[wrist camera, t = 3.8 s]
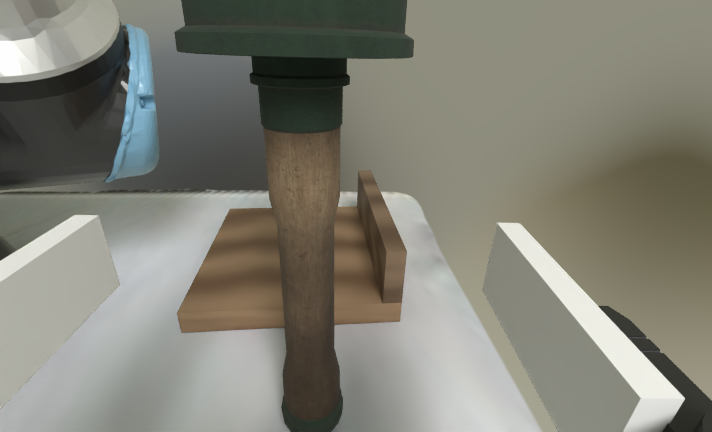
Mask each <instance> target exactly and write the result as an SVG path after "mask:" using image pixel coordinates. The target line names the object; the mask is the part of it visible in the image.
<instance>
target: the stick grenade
mask: <svg viewBox="0 0 712 432" xmlns="http://www.w3.org/2000/svg"><path fill="white" fill-rule="evenodd" d="M181 1H182V8H183V14H184V21H185V26H184V27H182V28H181V29H179V30H177V31H176V32H175V39H176V47H177V51H178V52H185V53H195V54H215V55H236V56H251V57H252V68H253V72H252V73H251V74H250V82H251V83H252V84H255V85H258V91H259V103H260V113H261V124H262V125H263V127H264V139H265V151H266V162H267V175H268V187H269V198H270V202H271V206H272V209H273V212H274V216H275V219H276V222H277V230H278V243H279V257H280V270H281V283H282V297H283V310H284V323H285V337H286V350H287V353H286V358H285V364H284V369H283V386H284V396H283V402H282V412H283V417H284V421H285V424H286V425H287V427H288V428H289V429H290V431H291V432H331V431H332V430H333V429H334V428H335V426H336V425H337V424H338V422H339V419H340V417H341V414H342V406H343V398H342V395H341V390H340V370H339V364H338V361H337V357H336V353H335V349H334V221H335V216H336V212H337V207H338V202H339V198H340V126H341V124H342V97H343V94H342V92H343V86H346V85H349V84H350V76H349V75H348V74H347V58H359V59H360V58H361V59H364V58H365V59H366V58H367V59H388V58H410V57H413V48H414V40H413V39H412V38H410V37H408V36H407V35H406V34H405V22H406V8H407V0H181Z"/></svg>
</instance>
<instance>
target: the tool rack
mask: <svg viewBox="0 0 712 432" xmlns="http://www.w3.org/2000/svg"><path fill="white" fill-rule="evenodd" d="M406 254H407V251H406V248H405V246H404V244H403V242H402V239H401V237H400V235H399V233H398V230H397V228H396V226H395V224H394V221H393V219H392V217H391V215H390V213H389V210H388V208H387V206H386V204H385V201H384V199H383V197H382V195H381V192H380V190H379V188H378V186H377V183H376V181H375V179H374V177H373V175H372V172H371V171H358V196H357V207H337V212H336V216H335V221H334V325H338V324H357V323H376V322H395V321H400V314H401V304H402V294H403V284H404V274H405V264H406ZM177 315H178V320H179V324H180V328H181V332H182V333H185V332H204V331H223V330H242V329H261V328H280V327H285V323H284V310H283V297H282V283H281V270H280V257H279V243H278V230H277V222H276V219H275V216H274V212H273V209H272V208H249V209H230V210H229V212H228V214H227V216H226V218H225V220H224V222H223V224H222V226H221V228H220V230H219V232H218V234H217V236H216V238H215V240H214V242H213V244H212V246H211V247H210V249H209V251H208V253H207V255H206V257H205V259H204V261H203V263H202V265H201V267H200V269H199V271H198V273H197V275H196V277H195V279H194V281H193V283H192V285H191V287H190V289H189V291H188V293H187V295H186V296H185V298H184V300H183V302H182V304H181V306H180V308H179V310H178V312H177Z"/></svg>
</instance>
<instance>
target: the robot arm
mask: <svg viewBox="0 0 712 432" xmlns="http://www.w3.org/2000/svg"><path fill="white" fill-rule="evenodd" d="M158 161H159V139H158V127H157V116H156V106H155V95H154V82H153V70H152V61H151V53H150V44H149V38H148V35H147V33H146V32H145V31H144V30H142V29H140V28H136V27H133V26H131V25H129V24H126V25H121V22H120V19H119V15H118V12H117V10H116V8H115V6H114V4H113V2H112V0H0V190H9V189H21V188H33V187H44V186H56V185H67V184H79V183H91V182H103V181H104V182H110V181H113V180H114V179H118V178H124V177H131V176H137V175H143V174H146V173H149V172H151V171H152V170H153V169H154V168H155V167H156V165H157V163H158ZM119 285H120V283H119V279H118V276H117V273H116V270H115V266H114V263H113V260H112V257H111V253H110V250H109V247H108V244H107V241H106V237H105V234H104V231H103V228H102V224H101V221H100V218H99V215H74V216H72V217H71V218H69V219H67V220H66V221H64V222H62V223H61V224H59V225H58V226H56V227H54V228H53V229H51V230H49V231H48V232H46V233H45V234H43V235H41V236H40V237H38V238H37V239H35V240H33V241H32V242H30V243H28V244H27V245H25V246H24V247H22V248H20V249H19V250H17V251H16V250H15V249H14V248H13V247H12V246H11V245H10V244H9V243H8V242H7V241H6V240H5V239H4V238H2V237H1V236H0V409H1V408H2V407H3V406H4V405H5V404H6V403H7V402H8V401H9V400H10V399H11V398H12V397H13V396H14V395H15V394H16V393H17V392H18V390H19V389H20V388H21V387H22V386H23V385H24V384H25V383H26V382H27V381H28V380H29V379H30V378H31V377H32V376H33V375H34V374H35V373H36V372H37V371H38V370H39V369H40V368H41V367H42V365H43V364H44V363H45V362H46V361H47V360H48V359H49V358H50V357H51V356H52V355H53V354H54V353H55V352H56V351H57V350H58V349H59V348H60V347H61V346H62V345H63V344H64V343H65V342H66V340H67V339H68V338H69V337H70V336H71V335H72V334H73V333H74V332H75V331H76V330H77V329H78V328H79V327H80V326H81V325H82V324H83V323H84V322H85V321H86V320H87V319H88V318H89V317H90V315H91V314H92V313H93V312H94V311H95V310H96V309H97V308H98V307H99V306H100V305H101V304H102V303H103V302H104V301H105V300H106V299H107V298H108V297H109V296H110V295H111V294H112V293H113V292H114V290H115V289H116V288H117V287H118V286H119ZM482 290H483V292H484V294H485V296H486V298H487V300H488V301H489V303H490V305H491V307H492V309H493V311H494V313H495V314H496V316H497V318H498V320H499V322H500V324H501V326H502V328H503V329H504V331H505V333H506V335H507V337H508V339H509V341H510V342H511V344H512V346H513V348H514V350H515V352H516V353H517V356H518V357H519V359H520V361H521V363H522V365H523V367H524V368H525V370H526V372H527V374H528V376H529V378H530V380H531V381H532V383H533V385H534V387H535V389H536V391H537V393H538V394H539V396H540V398H541V400H542V402H543V404H544V406H545V408H546V409H547V411H548V413H549V415H550V417H551V419H552V421H553V423H554V424H555V426H556V428H557V430H558V432H712V401H711V400H710V399H709V398H708V397H707V396H706V395H705V394H704V393H703V392H702V391H701V390H700V389H699V388H698V387H697V386H696V385H695V384H694V383H693V382H692V381H691V380H690V379H689V378H688V377H687V376H686V375H685V374H684V373H683V372H682V371H681V370H680V369H679V368H678V367H677V366H676V365H675V364H674V363H673V362H672V361H671V360H670V359H669V358H668V357H667V356H666V355H665V354H664V353H660V349H659V348H658V347H657V346H656V345H655V344H654V343H652V342H651V340H649V339H646V336H645V335H644V334H643V333H642V332H641V331H640V330H639V329H638V328H637V327H636V326H635V325H634V324H633V323H632V322H631V321H630V320H629V319H627V318H626V317H624V316H623V315H621V314H620V313H618V312H616V311H615V310H613V309H612V308H610V307H608V306H597V305H596V304H595V303H594V302H593V301H592V299H591V298H589V296H588V295H587V294H586V293H585V292H584V291H583V290H582V289H581V288H580V287H579V286H578V285H577V284H576V282H574V280H573V279H572V278H571V277H569V275H568V274H567V273H566V272H565V271H564V270H563V269H562V268H561V267H560V266H559V264H557V262H556V261H555V260H554V259H553V258H552V257H551V256H550V255H549V254H548V253H547V252H546V251H545V250H544V249H543V248H542V246H541V245H539V243H538V242H537V241H536V240H535V239H534V238H533V237H532V236H531V235H530V234H529V233H528V232H527V231H526V230H525V228H524V227H523V226H521V224H520V223H497V225H496V230H495V234H494V238H493V243H492V248H491V252H490V257H489V261H488V266H487V271H486V275H485V280H484V284H483V289H482Z"/></svg>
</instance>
